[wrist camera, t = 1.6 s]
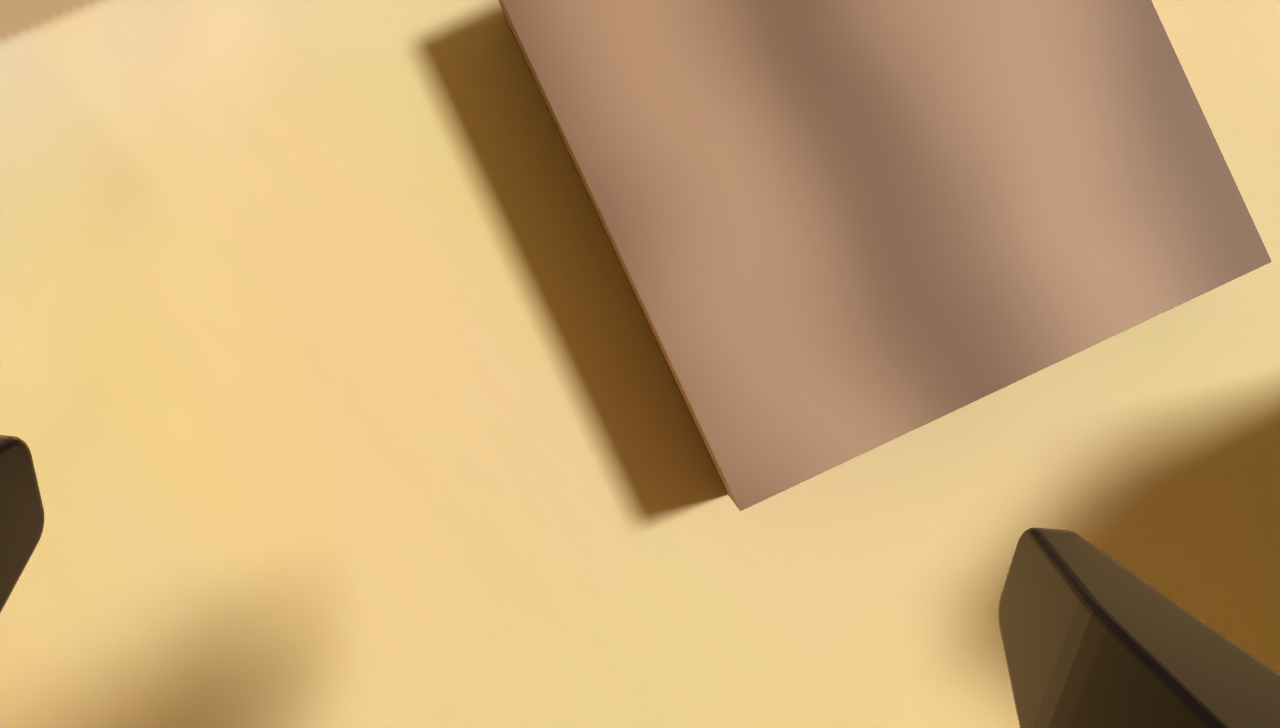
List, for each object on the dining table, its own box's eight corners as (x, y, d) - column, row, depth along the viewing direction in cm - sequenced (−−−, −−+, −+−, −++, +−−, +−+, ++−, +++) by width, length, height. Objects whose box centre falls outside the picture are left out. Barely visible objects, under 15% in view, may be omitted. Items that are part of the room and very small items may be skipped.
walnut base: (982, -205, 23) (1024, -273, 21) (1202, 272, 23) (1271, 261, 21) (505, 16, 23) (489, -26, 21) (728, 494, 23) (740, 511, 21)
